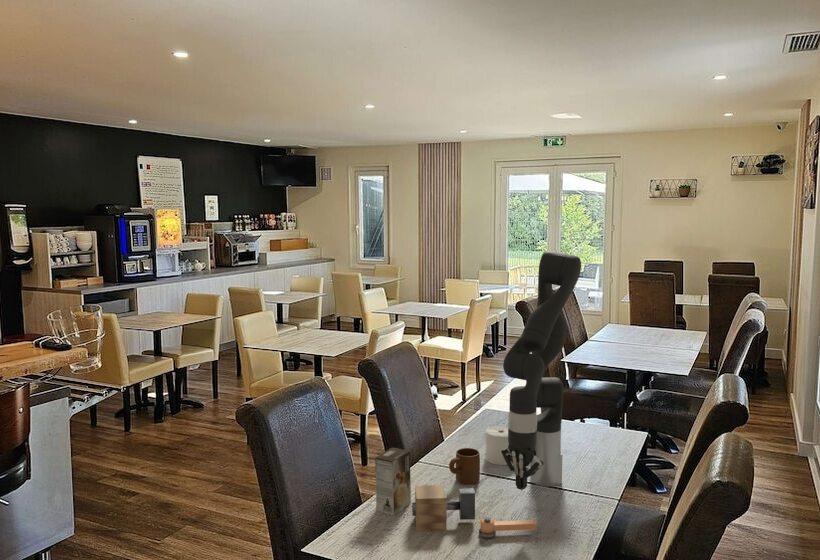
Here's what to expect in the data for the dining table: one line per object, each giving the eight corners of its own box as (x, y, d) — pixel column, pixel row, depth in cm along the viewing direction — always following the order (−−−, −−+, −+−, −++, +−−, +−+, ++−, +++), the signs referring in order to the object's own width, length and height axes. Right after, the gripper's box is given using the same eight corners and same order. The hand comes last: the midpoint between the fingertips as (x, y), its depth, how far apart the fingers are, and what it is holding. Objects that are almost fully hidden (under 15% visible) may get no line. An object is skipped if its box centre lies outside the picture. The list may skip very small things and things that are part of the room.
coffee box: (393, 498, 188) (392, 446, 186) (411, 503, 185) (411, 450, 183) (375, 510, 180) (374, 456, 178) (394, 516, 177) (393, 461, 175)
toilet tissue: (484, 453, 222) (484, 425, 221) (518, 453, 222) (518, 425, 221) (486, 465, 211) (487, 436, 210) (522, 465, 211) (523, 436, 210)
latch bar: (536, 531, 165) (537, 520, 165) (481, 533, 164) (481, 522, 164) (533, 524, 169) (533, 514, 168) (479, 526, 168) (479, 516, 168)
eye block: (443, 515, 177) (443, 485, 176) (446, 530, 169) (446, 498, 168) (415, 516, 177) (415, 485, 176) (416, 530, 169) (416, 498, 168)
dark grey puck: (494, 530, 169) (494, 526, 169) (497, 538, 164) (497, 535, 164) (477, 530, 168) (477, 527, 168) (480, 539, 164) (480, 535, 164)
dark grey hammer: (473, 514, 175) (473, 488, 174) (474, 519, 172) (475, 493, 171) (412, 515, 174) (411, 489, 173) (412, 521, 171) (412, 494, 170)
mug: (459, 492, 191) (459, 462, 190) (441, 484, 197) (441, 455, 196) (484, 480, 199) (484, 452, 198) (466, 473, 205) (466, 445, 204)
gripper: (494, 423, 169) (493, 484, 172) (533, 437, 159) (532, 502, 162) (512, 416, 174) (511, 476, 176) (551, 430, 164) (550, 492, 166)
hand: (521, 488), depth 169 cm, fingers closed
